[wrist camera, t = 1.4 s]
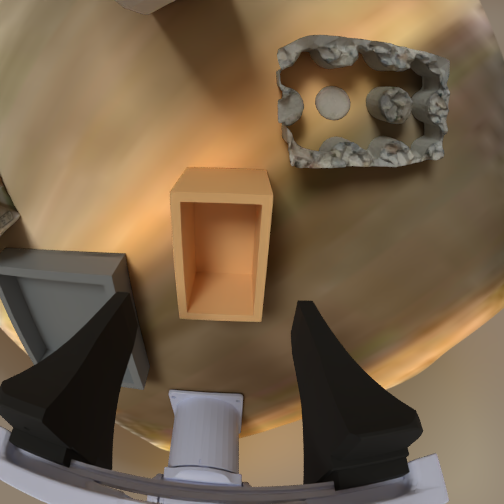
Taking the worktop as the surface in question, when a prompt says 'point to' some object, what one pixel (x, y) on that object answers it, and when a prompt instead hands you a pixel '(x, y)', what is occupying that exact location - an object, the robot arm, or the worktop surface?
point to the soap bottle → (143, 5)
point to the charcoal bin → (64, 299)
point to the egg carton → (368, 102)
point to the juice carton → (6, 210)
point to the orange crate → (221, 242)
